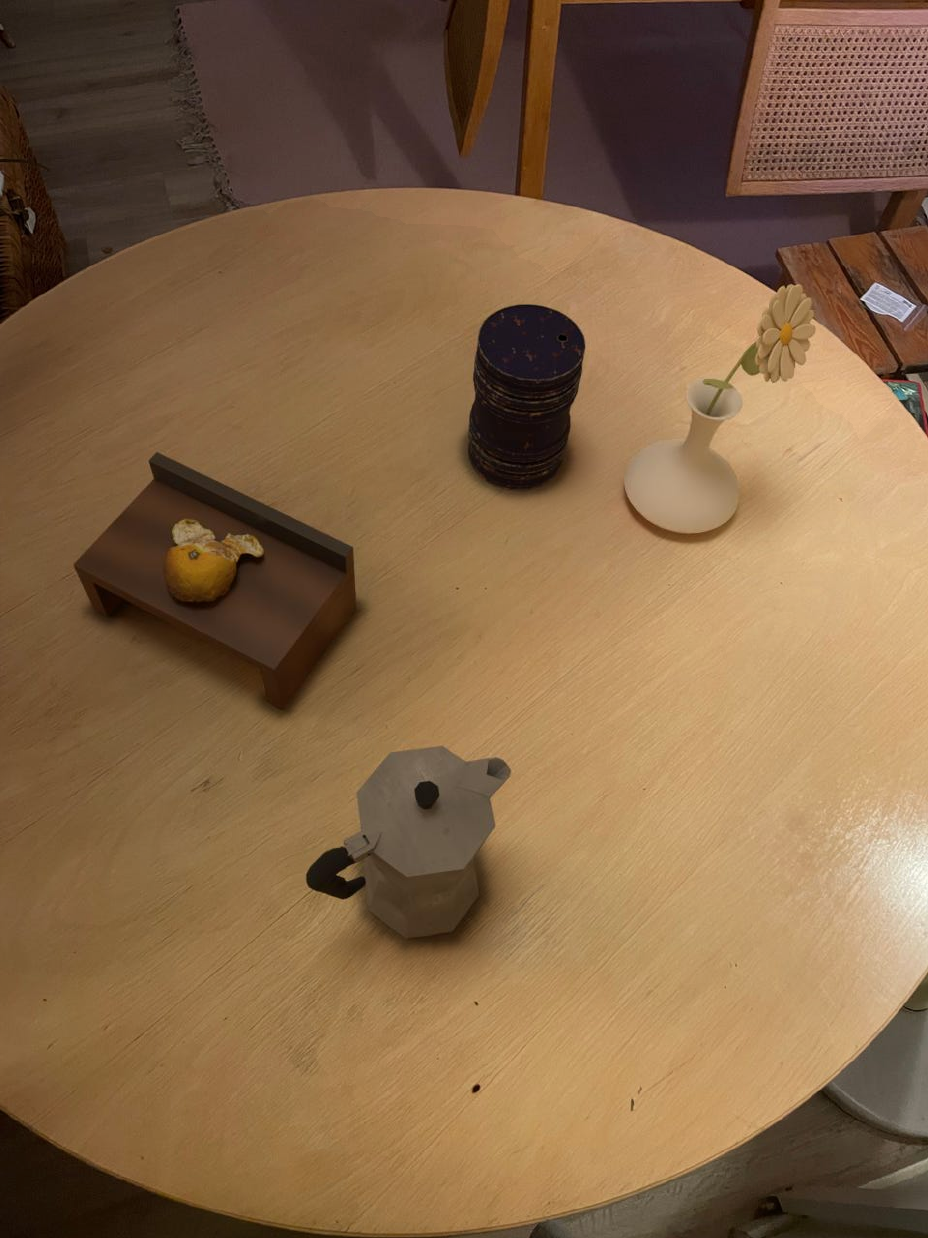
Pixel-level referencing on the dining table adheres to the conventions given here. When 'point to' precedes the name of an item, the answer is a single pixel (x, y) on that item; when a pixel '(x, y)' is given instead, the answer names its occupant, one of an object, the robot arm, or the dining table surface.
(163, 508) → the shelf
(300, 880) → the dining table surface
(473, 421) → the dark blue barrel
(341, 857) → the coffeepot
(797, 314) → the flower in vase
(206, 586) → the fruit
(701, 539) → the dining table surface
